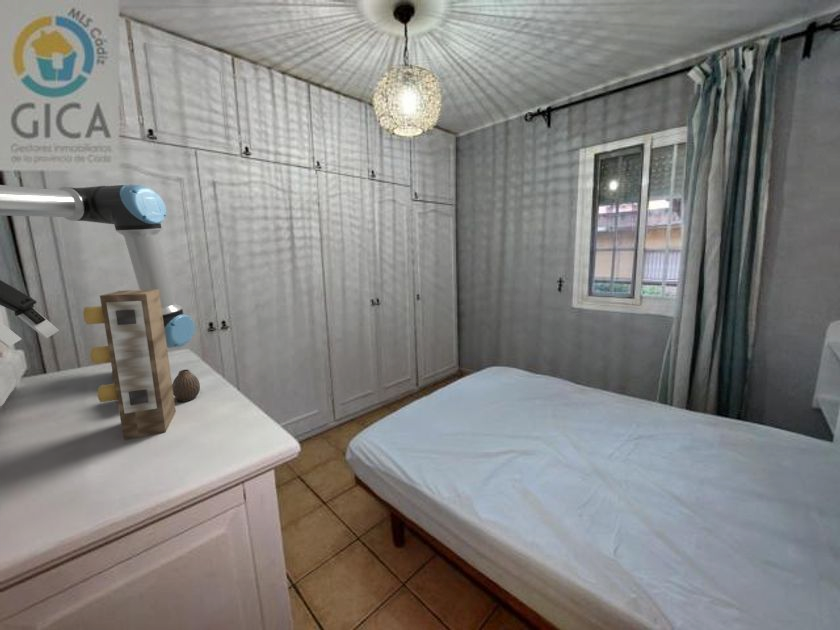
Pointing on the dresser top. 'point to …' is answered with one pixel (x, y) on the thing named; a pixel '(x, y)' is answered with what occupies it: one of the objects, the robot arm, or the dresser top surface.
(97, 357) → the button mid
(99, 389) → the button low
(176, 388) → the vase
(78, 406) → the dresser top surface
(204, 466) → the dresser top surface
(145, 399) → the button column
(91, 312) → the button top
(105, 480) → the dresser top surface
